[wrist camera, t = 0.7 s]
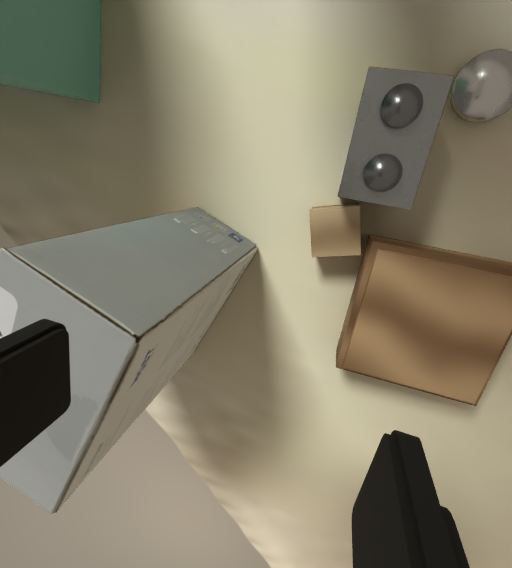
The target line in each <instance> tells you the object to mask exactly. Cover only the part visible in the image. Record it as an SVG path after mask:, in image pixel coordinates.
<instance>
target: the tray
mask: <svg viewBox="0 0 512 568" xmlns="http://www.w3.org/2000/svg"><path fill="white" fill-rule="evenodd" d="M511 335H512V263H510V262H505V261H500V260H495V259H490V258H485V257H480V256H475V255H470V254H465V253H460V252H455V251H450V250H445V249H440V248H435V247H430V246H425V245H420V244H415V243H410V242H405V241H399V240H394V239H389V238H384V237H379V236H374V235H369V238H368V241H367V245H366V248H365V252H364V255H363V259H362V262H361V266H360V269H359V273H358V276H357V280H356V283H355V287H354V290H353V294H352V297H351V301H350V304H349V308H348V311H347V315H346V318H345V322H344V325H343V329H342V332H341V335H340V339H339V342H338V346H337V351H336V367H337V368H340V369H344V370H348V371H351V372H355V373H358V374H362V375H366V376H369V377H373V378H376V379H380V380H384V381H387V382H391V383H394V384H398V385H402V386H405V387H409V388H412V389H416V390H420V391H423V392H427V393H431V394H434V395H438V396H441V397H445V398H449V399H452V400H456V401H459V402H463V403H467V404H470V405H474V406H476V405H477V403H478V401H479V399H480V397H481V395H482V393H483V391H484V389H485V387H486V385H487V383H488V381H489V379H490V377H491V375H492V373H493V371H494V369H495V367H496V365H497V363H498V361H499V359H500V357H501V355H502V353H503V351H504V349H505V347H506V345H507V343H508V341H509V339H510V337H511Z"/></svg>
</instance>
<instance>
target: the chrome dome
mask: <svg viewBox="0 0 512 568" xmlns="http://www.w3.org/2000/svg"><path fill="white" fill-rule="evenodd" d="M451 104H452V107H453V109H454V111H455V112H456V113H457V115H458V116H460V117H461V118H463V119H464V120H467V121H471V122H482V121H487V120H490V119H492V118H495V117H497V116H499V115H501V114H503V113H505V112H506V111H507V110H509V109H510V108H511V107H512V52H511V51H508V50H503V49H495V50H490V51H487V52H484V53H482V54H480V55H478V56H477V57H475V58H474V59H472V60H471V61H470V62H469V63H468V64H467V65H466V66H465V67H464V68H462V70H461V71H460V72H459V73H458V75H457V76H456V78H455V80H454V82H453V85H452V88H451Z"/></svg>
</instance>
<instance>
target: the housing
mask: <svg viewBox="0 0 512 568" xmlns="http://www.w3.org/2000/svg"><path fill="white" fill-rule="evenodd" d="M453 78H454V76H452V75H443V74H434V73H424V72H415V71H406V70H396V69H387V68H378V67H369V68H368V73H367V77H366V81H365V85H364V89H363V93H362V97H361V102H360V106H359V110H358V114H357V118H356V122H355V126H354V131H353V135H352V139H351V143H350V147H349V151H348V156H347V160H346V164H345V168H344V172H343V176H342V180H341V185H340V189H339V193H338V197H342V198H348V199H353V200H359V201H364V202H370V203H375V204H381V205H387V206H392V207H398V208H403V209H409V210H411V208H412V204H413V201H414V198H415V195H416V192H417V189H418V186H419V183H420V180H421V177H422V174H423V170H424V167H425V164H426V161H427V158H428V155H429V152H430V149H431V146H432V143H433V139H434V136H435V133H436V130H437V127H438V124H439V121H440V118H441V115H442V112H443V108H444V105H445V102H446V99H447V96H448V93H449V90H450V87H451V84H452V81H453Z"/></svg>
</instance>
